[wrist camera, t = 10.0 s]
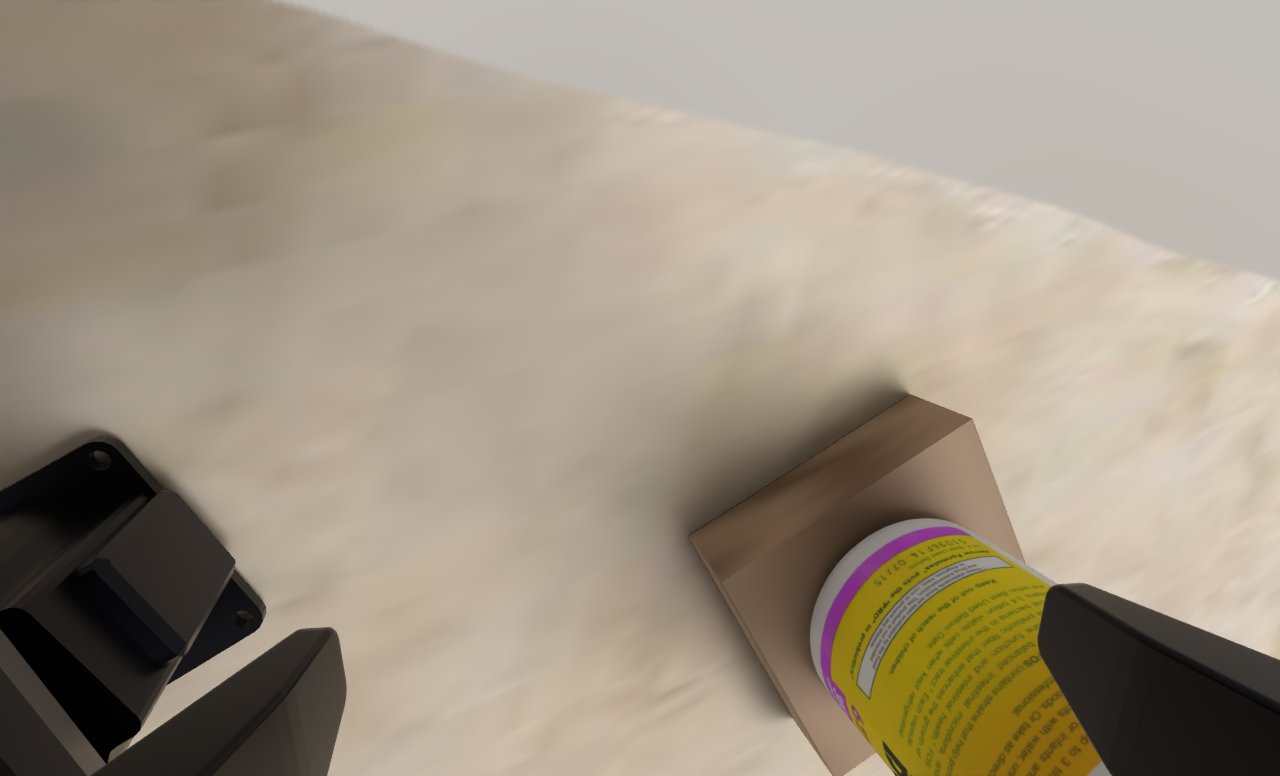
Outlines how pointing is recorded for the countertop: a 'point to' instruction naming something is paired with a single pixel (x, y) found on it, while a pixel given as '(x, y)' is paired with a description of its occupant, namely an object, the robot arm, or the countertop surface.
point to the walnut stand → (843, 543)
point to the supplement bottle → (945, 657)
